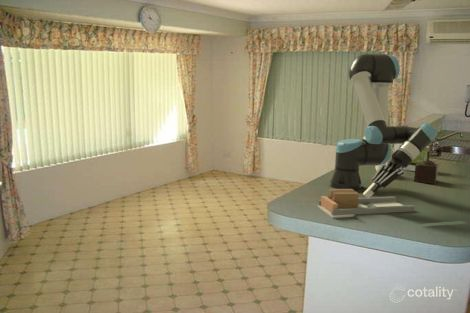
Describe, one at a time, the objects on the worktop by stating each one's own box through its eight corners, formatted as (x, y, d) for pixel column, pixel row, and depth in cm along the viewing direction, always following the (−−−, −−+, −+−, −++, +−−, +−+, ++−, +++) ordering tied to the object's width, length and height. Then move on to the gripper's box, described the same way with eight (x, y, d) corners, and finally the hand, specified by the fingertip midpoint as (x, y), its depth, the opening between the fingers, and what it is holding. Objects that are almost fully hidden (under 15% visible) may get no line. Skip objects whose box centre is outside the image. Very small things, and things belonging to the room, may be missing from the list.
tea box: (428, 170, 248) (431, 146, 245) (422, 173, 241) (425, 148, 238) (402, 166, 258) (405, 143, 255) (396, 168, 251) (399, 144, 248)
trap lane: (317, 206, 173) (318, 195, 172) (393, 202, 181) (394, 191, 180) (332, 217, 160) (333, 205, 159) (414, 213, 168) (415, 201, 167)
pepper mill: (435, 185, 214) (440, 150, 211) (413, 181, 220) (416, 148, 217) (440, 179, 227) (444, 147, 223) (419, 176, 233) (422, 144, 229)
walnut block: (327, 205, 173) (328, 188, 171) (350, 204, 173) (352, 188, 172) (333, 210, 166) (334, 193, 164) (357, 210, 167) (358, 193, 165)
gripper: (420, 164, 164) (379, 207, 164) (400, 158, 177) (362, 197, 176) (409, 151, 162) (368, 195, 162) (390, 146, 174) (352, 186, 174)
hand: (365, 196), depth 169 cm, fingers closed
